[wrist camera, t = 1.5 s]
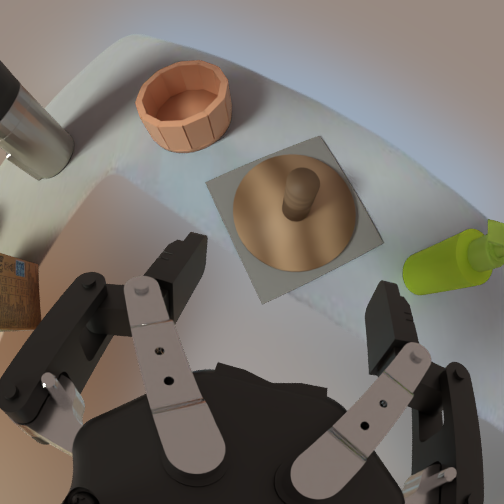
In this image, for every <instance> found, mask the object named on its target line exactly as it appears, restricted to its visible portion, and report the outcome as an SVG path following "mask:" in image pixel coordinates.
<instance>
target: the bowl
mask: <svg viewBox="0 0 504 504" xmlns="http://www.w3.org/2000/svg"><path fill="white" fill-rule="evenodd" d="M158 71H159V72H158ZM158 71H157V72H156V73H154V74H153V75H152V76H151V77H150V78H149V79H148V80H147V81H146V82H145V83H144V84H143V85H142V86H141V89H140V91H139V94H138V96H137V99H136V102H135V104H136V107H137V110H138V113H139V116H140V118H141V120H142V122H143V123H144V125H145V127H146V128H147V130H148V132H149V133H150V135H151V137H152V138H153V140H154V141H155V142H157V144H158V145H159V146H161V147H162V148H164V149H166V150H168V151H171V152H176V153H190V152H195V151H199V150H202V149H204V148H206V147H208V146H210V145H212V144H213V143H215V142H216V141H217V140H219V139H220V138H221V137H222V136H223V135H224V133H225V132H226V131H227V129H228V127H229V125H230V122H231V116H232V113H231V110H232V103H231V97H230V90H229V84H228V79H227V78H226V77H225V75H224V74H223V72H222V71H221V69H220V68H219V67H218V66H215V65H213V64H210V63H207V62H204V61H202V60H201V61H200V60H196V61H181V62H177V63H174V64H172V65H170V66H167V67H165V68H163V69H160V70H158Z"/></svg>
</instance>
